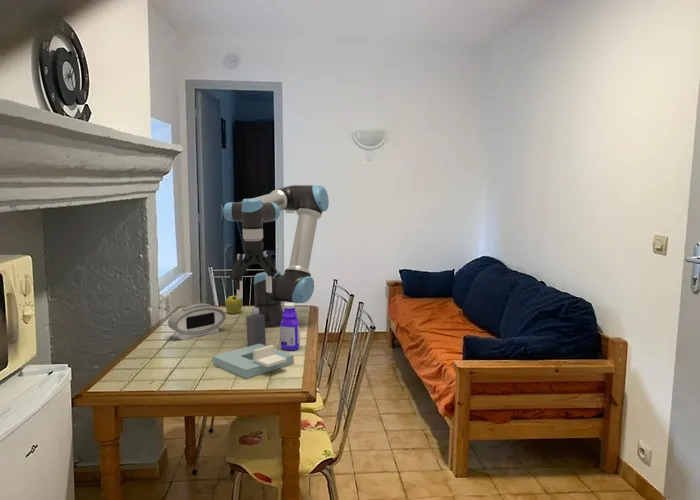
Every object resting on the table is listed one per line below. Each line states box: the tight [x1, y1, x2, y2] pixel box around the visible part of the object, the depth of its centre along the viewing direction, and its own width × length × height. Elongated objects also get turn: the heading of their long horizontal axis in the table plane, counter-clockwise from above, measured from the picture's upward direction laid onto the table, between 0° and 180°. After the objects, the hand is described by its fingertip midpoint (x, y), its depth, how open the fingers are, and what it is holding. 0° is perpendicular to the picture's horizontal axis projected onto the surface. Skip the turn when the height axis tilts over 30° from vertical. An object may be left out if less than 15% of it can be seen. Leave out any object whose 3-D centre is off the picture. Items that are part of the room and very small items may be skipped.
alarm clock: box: [167, 303, 227, 341], centre depth 230 cm, size 23×6×13 cm, turn 132°
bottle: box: [279, 302, 301, 351], centre depth 210 cm, size 7×6×17 cm
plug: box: [245, 307, 267, 347], centre depth 214 cm, size 5×5×15 cm
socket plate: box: [212, 344, 295, 380], centre depth 194 cm, size 20×20×3 cm
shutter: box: [253, 344, 287, 367], centre depth 187 cm, size 8×8×4 cm
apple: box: [224, 292, 243, 315], centre depth 266 cm, size 8×8×10 cm
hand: (254, 295), depth 212 cm, fingers open, 13 cm apart
